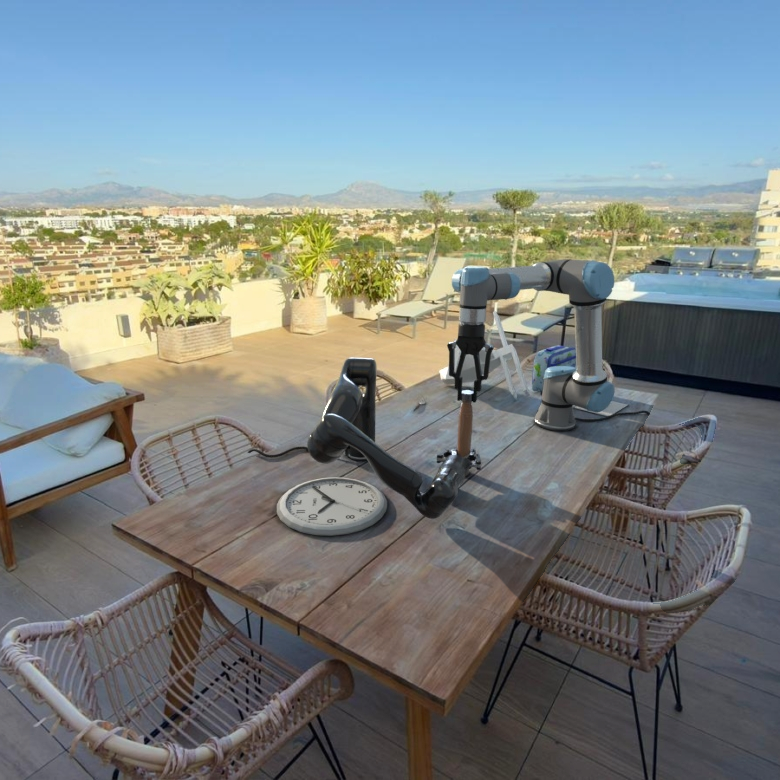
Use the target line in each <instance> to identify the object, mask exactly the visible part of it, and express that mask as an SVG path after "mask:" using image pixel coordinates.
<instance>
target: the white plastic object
mask: <svg viewBox="0 0 780 780" xmlns="http://www.w3.org/2000/svg"><path fill="white" fill-rule="evenodd" d="M492 315H493V319H494V321H495V324H496V325H495V326H496V328H497V332H498V335H499V338H500V342H501V345H502V347H500V348H498V349H496V350H495V349H493V351H492V353H491V359H490V367H489V374H490V373H492V372H494V371H495V370H496V369H497V368H499V367H500V366H502V370H503V373H504V376H505V380H506V383H507V386H508V390H509V393H510V394H511V395H512V397H513V398H514V399H515V400H517V392H516V391H517V390H516V388H515V385H514V381H513V378H512V375H511V371H510V369H509V365H508V361H510V360H513V363H514V366H515V369H516V372H517V376H518V380H519V382H520V385H521V389H522V391H523V393H524V395H525V396H526V397H528V396H531V395H530V390H529V388H528V387H529V386H528V384H527V381H526V378H525V375H524V371H523V369H522V368H523V367H522V366H521V362H520V359H519V355H518V352H517V349H516V347H515V346H514V345H513V343H511V344H508V341H507V337H506V334H505V331H504V328H503V325H502V321H501V318H500V315H499V314H498V312H497V311H496V310H495V311H492ZM456 340H457V338H454V340H453V342H455V341H456ZM486 344H488V345H490V344H489V343H488V342H486ZM486 353H487V352H485V347H483V348H482V350H481V351H480V352H479V358H480V365H481V373H482V375H484V366H485V358H486ZM460 355H461V350H460V349H459V347H458V346H457V345H456V348H455V370H454V372H456V371H457V367H458V363H459V359H460ZM438 372H439V376H440V381H442V383H443V384H444V385H445V386H449V385H455V378H454V377H452V376H449V365H448V366H446V367H444V368H442V369H440V370H439V371H438ZM460 377H462V378H463V379H462V384H467V383H468V384H469V383H474V381H475V379H477V377H476V370H475V362H474V357H473V355H470V354H468V355H466V356H465V360H464V364H463V367H462V371H461V375H460Z"/></svg>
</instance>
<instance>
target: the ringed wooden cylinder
mask: <svg viewBox="0 0 780 780" xmlns="http://www.w3.org/2000/svg"><path fill="white" fill-rule="evenodd" d="M473 411H474V409H473V401H472V402H463V401H461V404H460V408H459V413H458V428H457V443H456V447H457V455H459V456H464V455H465V454H469V453H470V451H471V449H472V436H473V435H472V433H473V420H474V412H473ZM469 474H470V469H469V470H468V473H467V475H466V476H468V475H469Z"/></svg>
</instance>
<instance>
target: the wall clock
mask: <svg viewBox="0 0 780 780" xmlns="http://www.w3.org/2000/svg"><path fill="white" fill-rule="evenodd" d="M387 509H388V500H387V498H386V496H385V494H384V493H383V492H382V491H381V490H380V489H379V488H377V487H376V486H374V485H372V484H371V483H369V482H365V481H362V480H359V479H355V478H349V477H338V476H337V477H335V476H333V477H332V476H331V477H322V478H317V479H312V480H307V481H305V482H302V483H299V484H297V485H295V486H293V487H292V488H290V489H288V490H287V491H286V492H285V493H284V494H283V495H281V496H280V498H279V499H278V502H277V503H276V515H277V517H278V518H279V520H280V521H281V522H282V523H283V524H285V525H286V526H287V527H288V528H290V529H293V530H295V531H297V532H299V533H303V534H308V535H312V536H327V537H328V536H329V537H331V536H332V537H333V536H342V535H350V534H352V533H356V532H361V531H363V530H366V529H368V528H369V527H372V526H373V525H375V524H376V523H378V522H379V521H380V520H381V519H382V518H383V517H384V516H385V514H386V512H387Z"/></svg>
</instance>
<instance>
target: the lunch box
mask: <svg viewBox="0 0 780 780" xmlns="http://www.w3.org/2000/svg"><path fill="white" fill-rule="evenodd" d="M555 366H570V367H575V368H576V347H571V346H565V345H553V346H550V347H546V348H545V349H542V350H539V351H538V352H537V353H536V354H535V356H534V358H533V365H532V376H531V377H532V378H531V390H532V391H533V392H537V393H541V394H542V391H543V380H544V379H543V378H544V375H545V370H546V369H547V368H549V367H555Z"/></svg>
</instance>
